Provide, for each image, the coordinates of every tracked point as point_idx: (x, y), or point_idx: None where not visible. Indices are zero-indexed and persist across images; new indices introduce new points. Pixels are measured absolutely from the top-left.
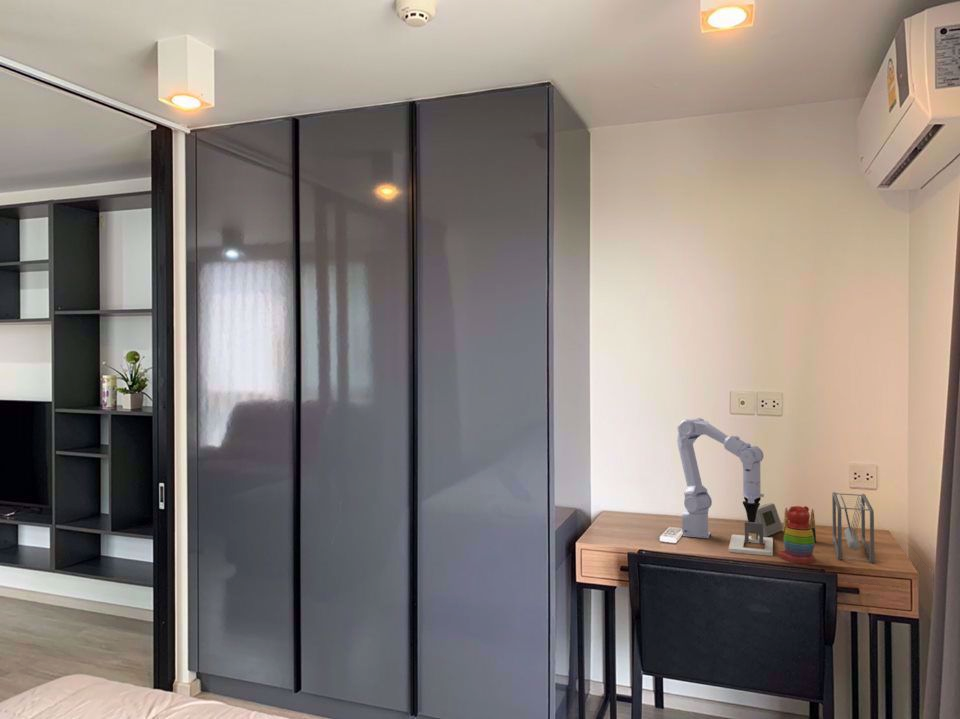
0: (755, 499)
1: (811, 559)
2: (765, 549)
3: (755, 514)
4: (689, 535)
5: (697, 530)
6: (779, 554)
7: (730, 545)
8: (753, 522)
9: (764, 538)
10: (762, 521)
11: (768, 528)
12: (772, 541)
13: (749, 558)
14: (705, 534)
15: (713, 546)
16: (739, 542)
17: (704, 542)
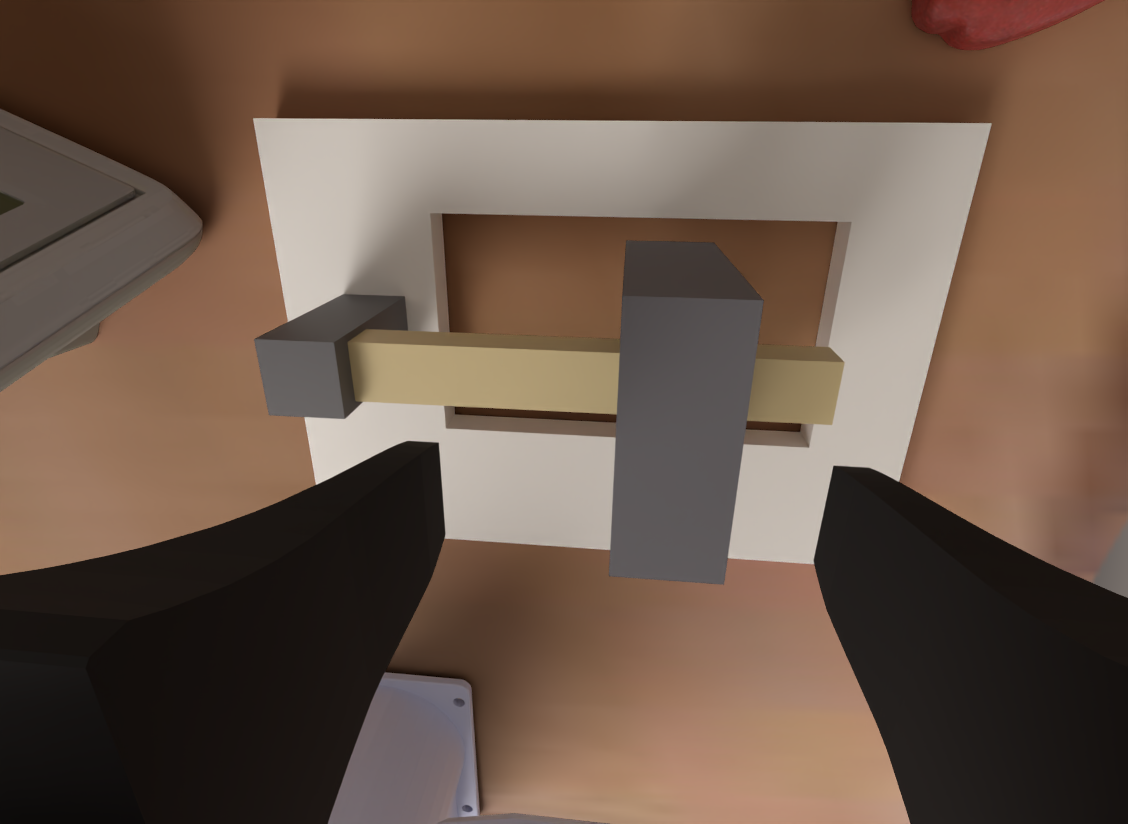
0: (205, 760)
1: None
2: (854, 212)
3: (1005, 558)
4: (469, 792)
5: (452, 794)
6: (1045, 26)
7: (757, 552)
8: (666, 458)
9: (330, 220)
10: (12, 268)
11: (22, 173)
12: (434, 122)
13: (1094, 376)
14: (427, 713)
15: (701, 649)
16: (612, 475)
17: (593, 701)
